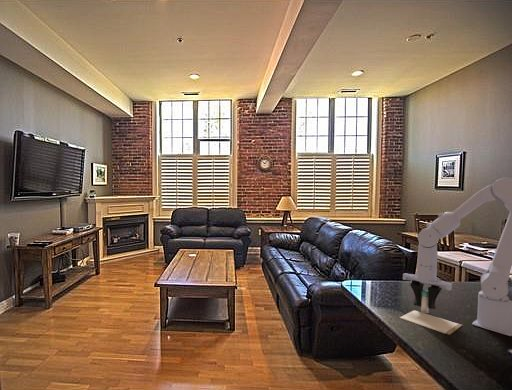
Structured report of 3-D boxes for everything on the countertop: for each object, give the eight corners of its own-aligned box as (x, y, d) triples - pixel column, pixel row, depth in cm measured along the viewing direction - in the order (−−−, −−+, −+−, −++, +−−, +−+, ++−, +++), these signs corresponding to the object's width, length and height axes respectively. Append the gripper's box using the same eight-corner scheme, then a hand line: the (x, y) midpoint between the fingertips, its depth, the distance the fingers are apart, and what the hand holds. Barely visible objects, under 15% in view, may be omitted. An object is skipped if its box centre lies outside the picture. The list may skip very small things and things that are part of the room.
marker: (430, 312, 106) (431, 291, 106) (427, 314, 104) (428, 292, 104) (422, 310, 108) (423, 289, 108) (419, 311, 106) (420, 290, 106)
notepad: (462, 325, 96) (462, 324, 96) (449, 335, 90) (449, 333, 90) (414, 311, 107) (414, 310, 107) (399, 318, 100) (399, 317, 100)
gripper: (456, 268, 103) (454, 310, 103) (410, 259, 114) (408, 297, 114) (447, 271, 98) (445, 315, 99) (400, 261, 109) (398, 301, 110)
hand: (425, 306), depth 106 cm, fingers open, 3 cm apart
